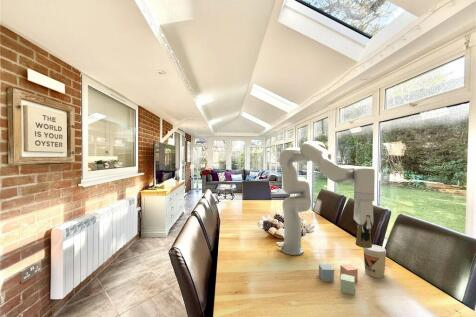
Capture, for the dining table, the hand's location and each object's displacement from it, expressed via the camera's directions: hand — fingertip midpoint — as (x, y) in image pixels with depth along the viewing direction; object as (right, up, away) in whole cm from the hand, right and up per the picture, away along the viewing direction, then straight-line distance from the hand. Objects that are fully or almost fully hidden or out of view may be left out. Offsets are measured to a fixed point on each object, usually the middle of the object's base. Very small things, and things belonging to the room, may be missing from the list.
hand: (363, 239), depth 94 cm
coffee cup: (+12, -20, +12) cm, 26 cm away
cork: (0, -2, 0) cm, 2 cm away
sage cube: (-7, -20, -2) cm, 22 cm away
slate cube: (-13, -20, +8) cm, 25 cm away
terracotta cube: (-2, -20, +8) cm, 22 cm away
